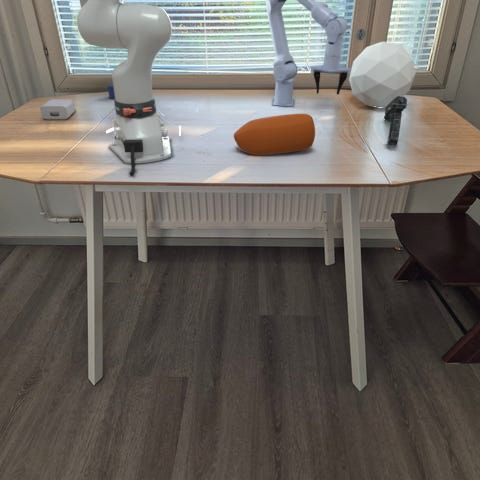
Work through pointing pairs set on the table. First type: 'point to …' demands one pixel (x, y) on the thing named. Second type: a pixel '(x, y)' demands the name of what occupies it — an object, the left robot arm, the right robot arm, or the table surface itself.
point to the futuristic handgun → (395, 118)
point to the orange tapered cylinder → (276, 134)
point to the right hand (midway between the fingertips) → (327, 93)
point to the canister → (111, 91)
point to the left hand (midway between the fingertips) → (103, 25)
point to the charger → (57, 109)
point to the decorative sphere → (381, 74)
